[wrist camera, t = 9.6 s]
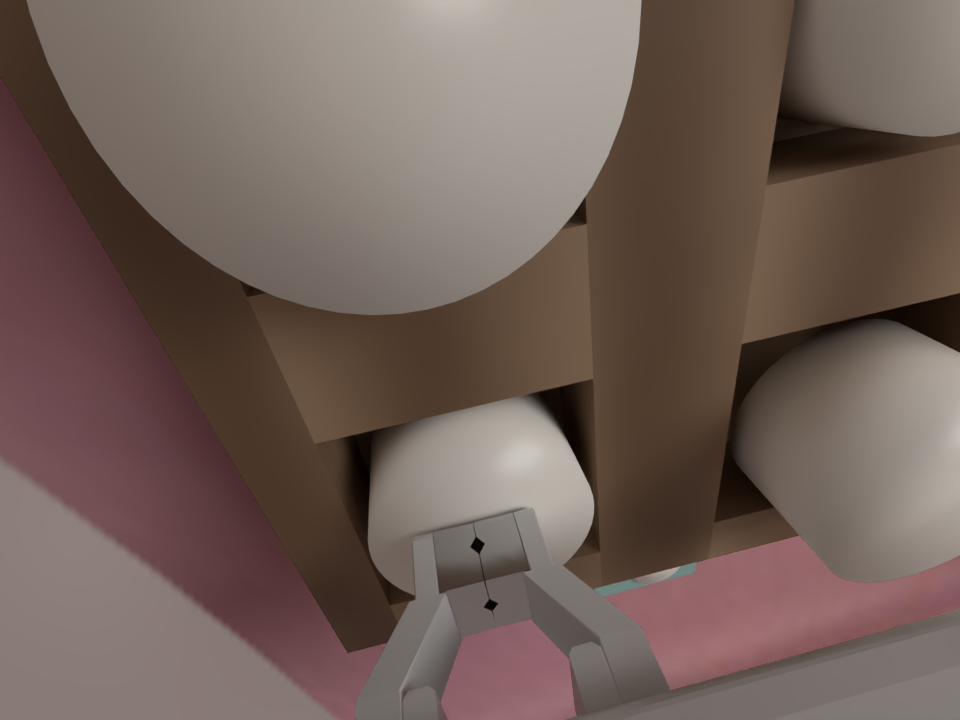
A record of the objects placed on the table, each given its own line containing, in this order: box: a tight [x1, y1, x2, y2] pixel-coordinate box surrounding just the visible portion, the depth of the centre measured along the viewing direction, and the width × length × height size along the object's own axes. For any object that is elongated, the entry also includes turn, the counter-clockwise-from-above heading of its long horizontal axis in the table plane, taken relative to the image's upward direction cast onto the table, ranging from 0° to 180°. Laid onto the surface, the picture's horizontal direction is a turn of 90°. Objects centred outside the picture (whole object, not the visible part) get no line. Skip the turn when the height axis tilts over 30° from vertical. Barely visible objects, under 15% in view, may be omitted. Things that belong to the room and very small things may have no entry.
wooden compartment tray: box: [0, 0, 960, 653], centre depth 12 cm, size 20×20×4 cm
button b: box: [27, 0, 641, 315], centre depth 6 cm, size 6×6×3 cm
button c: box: [730, 319, 960, 583], centre depth 12 cm, size 6×6×3 cm
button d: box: [368, 391, 594, 595], centre depth 13 cm, size 6×6×3 cm
